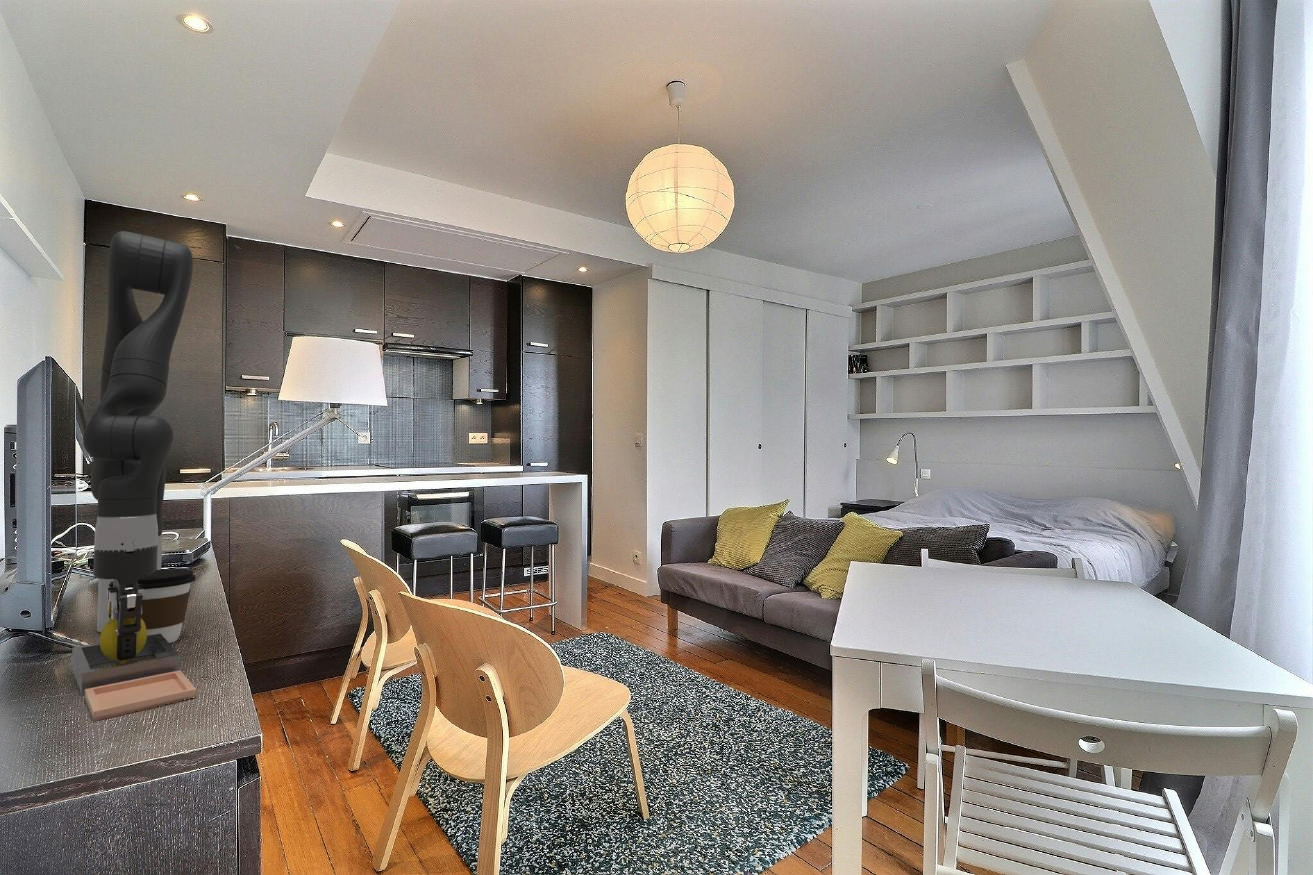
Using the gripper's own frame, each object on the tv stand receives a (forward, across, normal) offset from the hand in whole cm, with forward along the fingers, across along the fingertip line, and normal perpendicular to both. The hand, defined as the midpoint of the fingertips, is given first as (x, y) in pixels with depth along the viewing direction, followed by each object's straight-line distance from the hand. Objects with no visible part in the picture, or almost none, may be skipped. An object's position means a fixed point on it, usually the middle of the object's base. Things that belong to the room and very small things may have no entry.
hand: (123, 653), depth 97 cm
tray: (+2, +15, 0) cm, 16 cm away
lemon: (+2, 0, 0) cm, 2 cm away
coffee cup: (+3, -15, +6) cm, 16 cm away
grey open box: (+3, 0, 0) cm, 3 cm away
